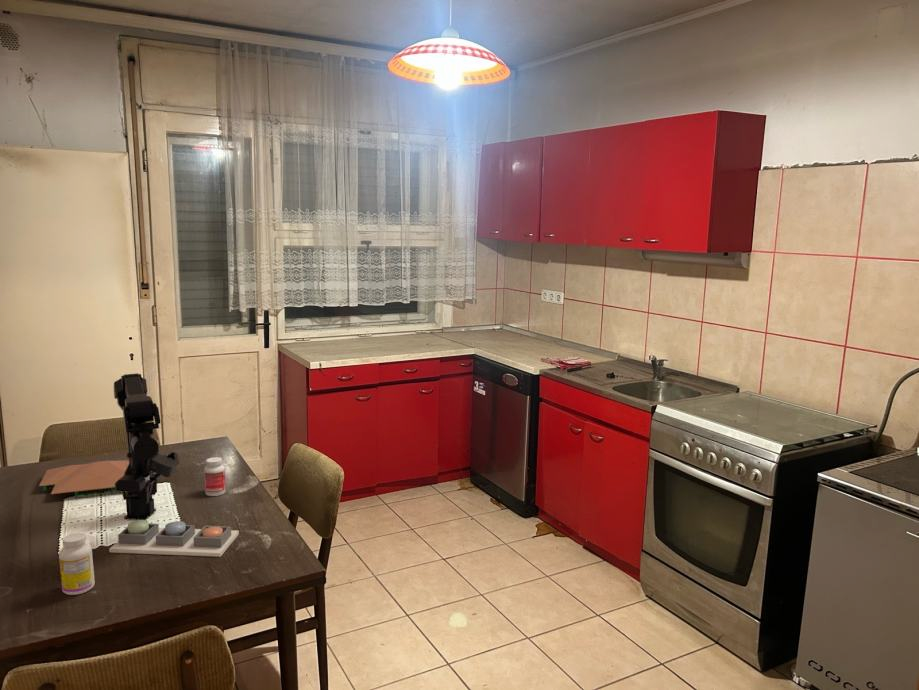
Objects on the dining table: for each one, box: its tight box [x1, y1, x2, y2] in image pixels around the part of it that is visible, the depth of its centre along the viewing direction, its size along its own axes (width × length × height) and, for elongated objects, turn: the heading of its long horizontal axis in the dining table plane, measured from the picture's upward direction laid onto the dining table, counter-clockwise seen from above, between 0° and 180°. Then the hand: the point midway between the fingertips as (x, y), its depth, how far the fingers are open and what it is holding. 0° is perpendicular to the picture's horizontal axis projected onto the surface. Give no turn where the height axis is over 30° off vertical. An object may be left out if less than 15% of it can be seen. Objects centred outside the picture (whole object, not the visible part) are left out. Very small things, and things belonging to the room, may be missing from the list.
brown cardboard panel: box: [38, 459, 129, 500], centre depth 219 cm, size 23×33×8 cm
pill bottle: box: [203, 456, 227, 497], centre depth 214 cm, size 6×6×11 cm
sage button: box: [127, 519, 149, 534], centre depth 181 cm, size 5×5×2 cm
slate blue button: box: [164, 520, 186, 536], centre depth 180 cm, size 5×5×2 cm
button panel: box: [108, 523, 240, 558], centre depth 181 cm, size 29×13×4 cm, turn 88°
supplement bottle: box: [58, 532, 96, 596], centre depth 157 cm, size 7×7×13 cm
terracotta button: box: [203, 527, 223, 537], centre depth 180 cm, size 5×5×2 cm
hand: (145, 503), depth 180 cm, fingers closed
